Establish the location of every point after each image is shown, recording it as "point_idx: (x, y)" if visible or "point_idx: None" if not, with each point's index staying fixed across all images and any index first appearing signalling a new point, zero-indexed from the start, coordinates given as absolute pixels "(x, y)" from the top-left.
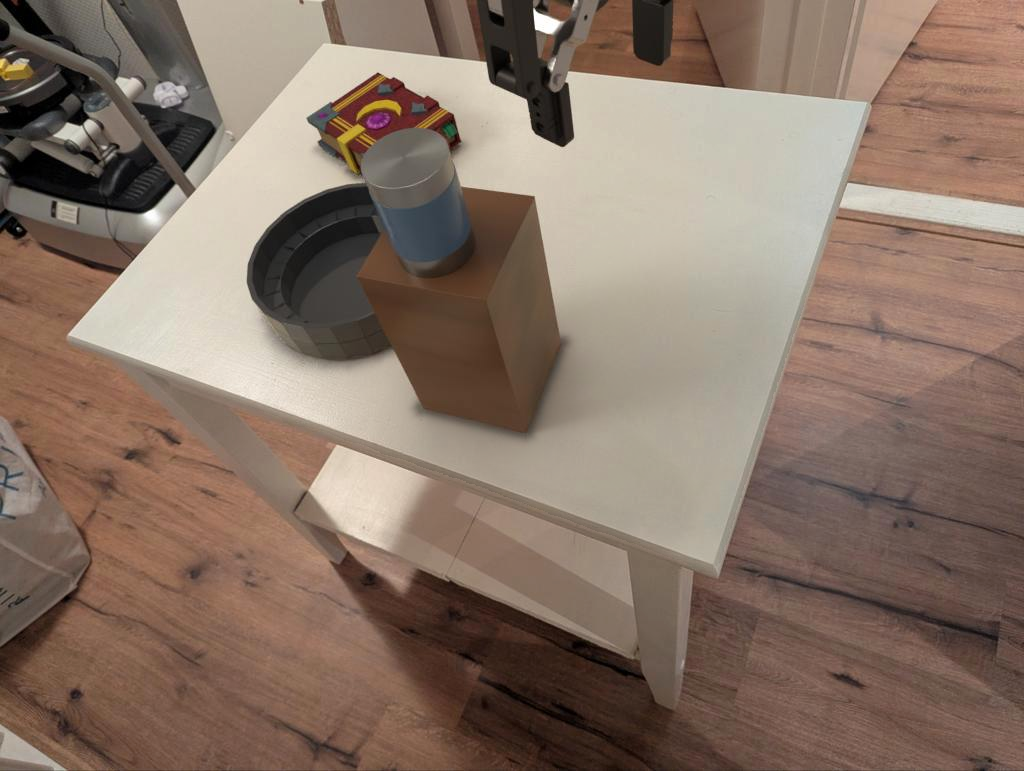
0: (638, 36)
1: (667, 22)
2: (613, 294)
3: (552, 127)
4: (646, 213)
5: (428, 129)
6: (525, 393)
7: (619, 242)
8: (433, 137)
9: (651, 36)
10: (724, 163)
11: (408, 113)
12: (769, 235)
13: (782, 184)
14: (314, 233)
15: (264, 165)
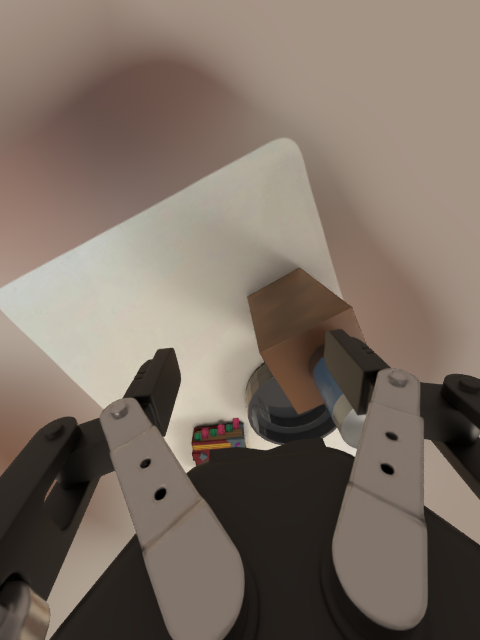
0: (175, 390)
1: (151, 376)
2: (204, 300)
3: (363, 347)
4: (151, 328)
5: (342, 434)
6: (296, 278)
7: (176, 324)
8: (347, 426)
9: (168, 378)
10: (89, 324)
11: (208, 457)
12: (105, 267)
13: (71, 289)
14: (291, 427)
15: None
